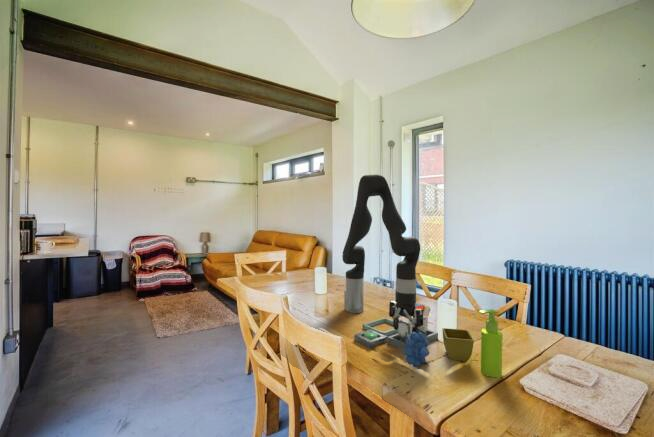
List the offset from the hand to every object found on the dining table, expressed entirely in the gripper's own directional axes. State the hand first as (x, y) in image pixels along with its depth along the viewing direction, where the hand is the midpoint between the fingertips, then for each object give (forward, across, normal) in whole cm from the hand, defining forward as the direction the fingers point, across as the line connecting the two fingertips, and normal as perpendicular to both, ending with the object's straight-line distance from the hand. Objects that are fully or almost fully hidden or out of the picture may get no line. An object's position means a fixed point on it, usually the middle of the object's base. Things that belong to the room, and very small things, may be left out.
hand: (405, 332), depth 116 cm
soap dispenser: (+6, +28, +7) cm, 29 cm away
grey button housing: (+5, -10, -8) cm, 14 cm away
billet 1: (+4, 0, 0) cm, 4 cm away
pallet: (+5, 0, +5) cm, 7 cm away
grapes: (+6, +13, -9) cm, 17 cm away
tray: (+5, -15, +5) cm, 17 cm away
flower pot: (+6, +17, +7) cm, 19 cm away
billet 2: (+4, 0, +10) cm, 10 cm away
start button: (+5, -10, -8) cm, 14 cm away
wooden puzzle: (+6, -25, +35) cm, 43 cm away
